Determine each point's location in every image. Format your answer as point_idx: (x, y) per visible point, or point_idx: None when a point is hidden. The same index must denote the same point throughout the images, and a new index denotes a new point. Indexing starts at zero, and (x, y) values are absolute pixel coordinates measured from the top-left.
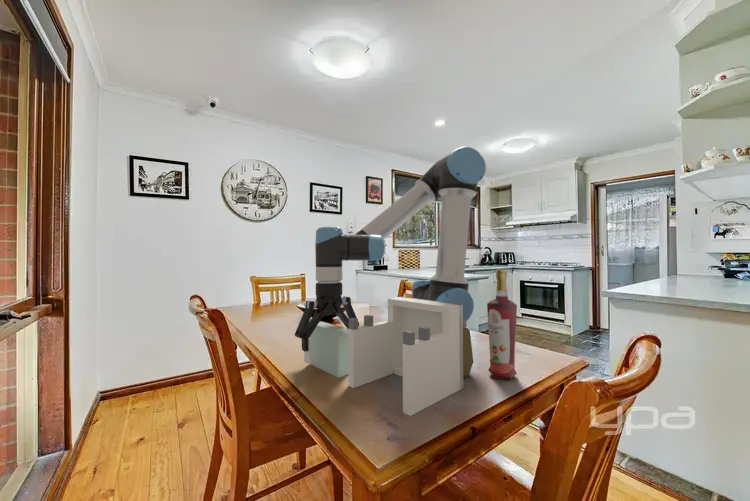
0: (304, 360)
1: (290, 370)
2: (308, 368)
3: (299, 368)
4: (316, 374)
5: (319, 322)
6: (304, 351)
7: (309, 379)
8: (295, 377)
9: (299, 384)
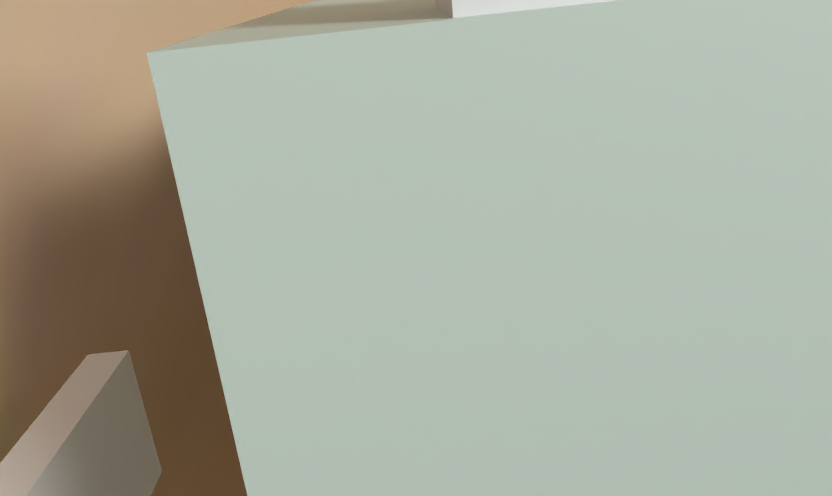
0: (82, 368)
1: (17, 62)
2: None
3: None
4: None
5: (792, 170)
6: (15, 454)
7: None
8: (24, 315)
9: None
